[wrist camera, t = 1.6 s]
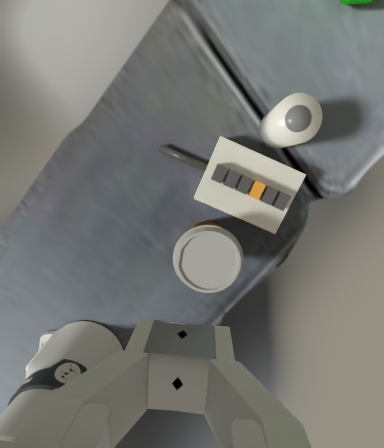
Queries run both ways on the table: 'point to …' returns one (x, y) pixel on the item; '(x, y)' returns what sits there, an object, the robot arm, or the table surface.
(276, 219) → the power strip
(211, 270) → the disposable coffee cup
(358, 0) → the plastic bottle
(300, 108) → the white hollow cylinder
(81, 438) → the robot arm
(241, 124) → the table surface
